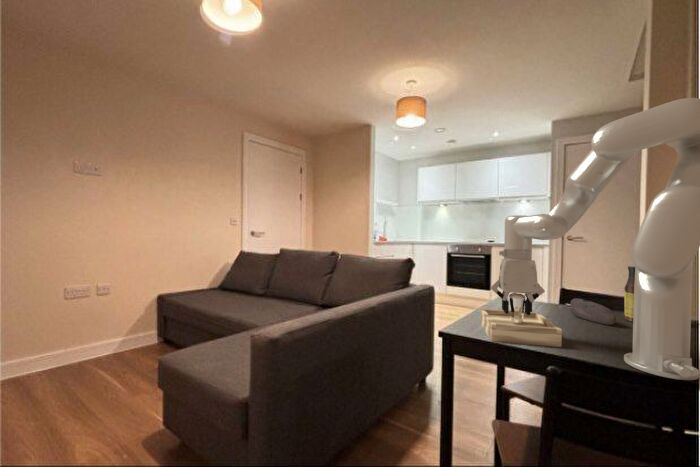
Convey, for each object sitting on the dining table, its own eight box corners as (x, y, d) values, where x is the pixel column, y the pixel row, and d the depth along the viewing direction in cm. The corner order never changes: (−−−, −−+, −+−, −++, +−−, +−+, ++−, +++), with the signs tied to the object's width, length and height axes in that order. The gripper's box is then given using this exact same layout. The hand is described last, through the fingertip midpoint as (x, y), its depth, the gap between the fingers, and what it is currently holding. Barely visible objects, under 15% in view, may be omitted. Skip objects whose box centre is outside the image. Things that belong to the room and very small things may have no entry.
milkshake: (520, 326, 93) (521, 292, 93) (505, 321, 98) (505, 289, 98) (530, 324, 95) (531, 291, 95) (515, 319, 99) (515, 288, 99)
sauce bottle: (638, 319, 114) (639, 265, 113) (653, 324, 108) (654, 267, 107) (618, 318, 114) (620, 264, 114) (632, 323, 108) (634, 266, 108)
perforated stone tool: (621, 327, 104) (622, 307, 104) (609, 328, 103) (609, 307, 103) (579, 315, 118) (579, 297, 118) (568, 316, 117) (568, 297, 117)
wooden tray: (561, 349, 86) (561, 329, 85) (491, 343, 90) (491, 324, 90) (537, 328, 103) (538, 312, 103) (480, 324, 107) (480, 308, 107)
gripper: (490, 255, 94) (489, 314, 95) (553, 257, 90) (552, 318, 91) (485, 253, 102) (484, 308, 102) (544, 255, 98) (542, 312, 98)
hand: (516, 312), depth 96 cm, fingers open, 5 cm apart
